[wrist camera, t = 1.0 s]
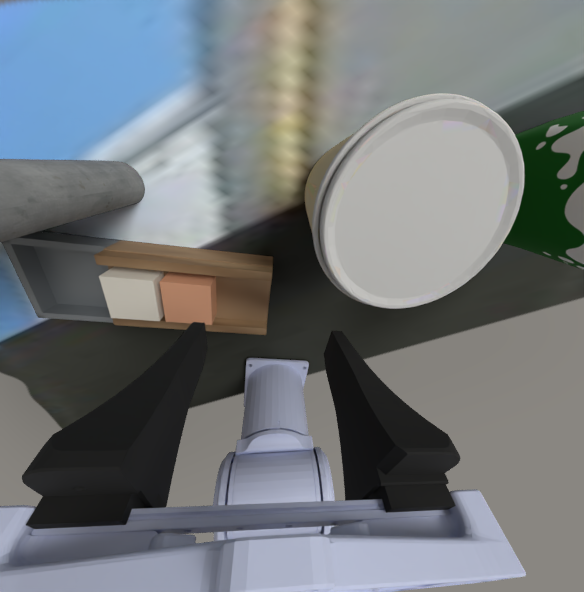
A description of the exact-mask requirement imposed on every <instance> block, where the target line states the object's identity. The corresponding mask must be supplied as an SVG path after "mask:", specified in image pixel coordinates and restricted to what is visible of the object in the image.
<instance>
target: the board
mask: <svg viewBox="0 0 584 592" xmlns="http://www.w3.org/2000/svg"><path fill="white" fill-rule="evenodd" d="M94 257H95V261H96V264H97V265H107V266H108V268H109V269H111V268H112V267H114V266H115V267H126V268H136V269H147V270H157V271H163V273H164V276H165V275H166V274H167V273H168V272H178V273H189V274H199V275H210V276H216V302H217V313H216V316H215V319H214V321H213V324H212V325H205V328H206V331H213V332H228V333H243V334H258V335H266V330H267V317H268V307H269V297H270V288H271V281H272V271H273V257H271V256H262V255H253V254H243V253H234V252H225V251H216V250H206V249H197V248H188V247H179V246H169V245H160V244H151V243H142V242H132V241H123V240H120V241H118V242H116V243H114V244H112V245H110V246H108V247H106V248H104V249H103V251H101V252H99V253H97V254H95V255H94ZM112 319H113V323H114V325H123V326H138V327H153V328H168V329H183V330H186V329H187V328H188V327H189V326H190V325H191V323H177V322H166V320H165V315H164V316H163V318H162V319H161V320H160V321H148V320H134V319H119V318H112Z"/></svg>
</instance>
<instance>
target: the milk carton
mask: <svg viewBox="0 0 584 592" xmlns="http://www.w3.org/2000/svg"><path fill="white" fill-rule="evenodd" d="M515 136H516V138H517V140H518V143H519V146H520V149H521V152H522V157H523V161H524V189H523V195H522V199H521V203H520V207H519V211H518V213H517V216H516V219H515V221H514V223H513V225H512V228H511V230H510V232H509V233H508V235H507V237H506V239H505V240H504V242H503V243H505V244H508V245H512V246H515V247H518V248H522V249H525V250H528V251H531V252H534V253H536V254H539V255H542V256H545V257H548V258H551V259H554V260H557V261H560V262H563V263H565V264H568V265H571V266H574V267H577V268H580V269H583V270H584V111H581V112H578V113H575V114H572V115H569V116H565V117H562V118H558V119H555V120H552V121H550V122H547V123H545V124H542V125H539V126H537V127H534V128H532V129H529V130H526V131H524V132H521V133H519V134H516V135H515Z"/></svg>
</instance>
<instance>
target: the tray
mask: <svg viewBox="0 0 584 592" xmlns="http://www.w3.org/2000/svg"><path fill="white" fill-rule="evenodd" d="M118 241H120V240H114V239H105V238H96V237H86V236H77V235H68V234H59V233H49V232H40V231H38V232H34V233H31V234H27V235H24V236H20V237H17V238H14V239H10V240H7V241H3V242H2V243H3V245H4V248H5V250H6V252H7V254H8V256H9V258H10V260H11V262H12V264H13V266H14V268H15V270H16V273H17V275H18V277H19V279H20V281H21V283H22V285H23V287H24V289H25V291H26V293H27V295H28V298H29V300H30V302H31V304H32V306H33V308H34V310H35V312H36V314H37V316H38V318H53V319H68V320H82V321H97V322H112V323H113V319H112V318H111V316H110V313H109V309H108V306H107V302H106V299H105V296H104V292H103V289H102V285H101V282H100V279H99V276H100V275H101V274H103V273H105V272H106V271H108V270H109V268H108V266H107V265H97V264H96V261H95V257H94V255H95V254H97V253H99V252H101V251H103V249H104V248H106V247H108V246H110V245H112V244H114V243H116V242H118Z"/></svg>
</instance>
